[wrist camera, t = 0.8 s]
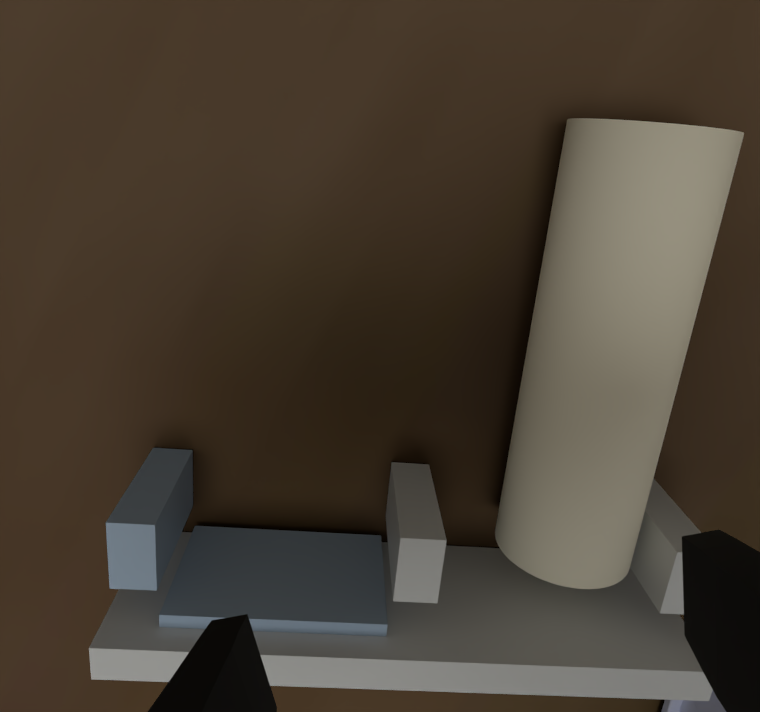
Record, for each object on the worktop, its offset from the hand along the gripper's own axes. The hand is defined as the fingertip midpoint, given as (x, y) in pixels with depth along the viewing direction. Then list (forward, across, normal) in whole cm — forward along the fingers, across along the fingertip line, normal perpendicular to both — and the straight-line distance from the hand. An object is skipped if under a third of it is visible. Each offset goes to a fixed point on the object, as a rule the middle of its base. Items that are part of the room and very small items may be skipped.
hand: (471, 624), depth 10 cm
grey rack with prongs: (+10, +1, +3) cm, 10 cm away
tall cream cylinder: (+10, -4, -1) cm, 10 cm away
